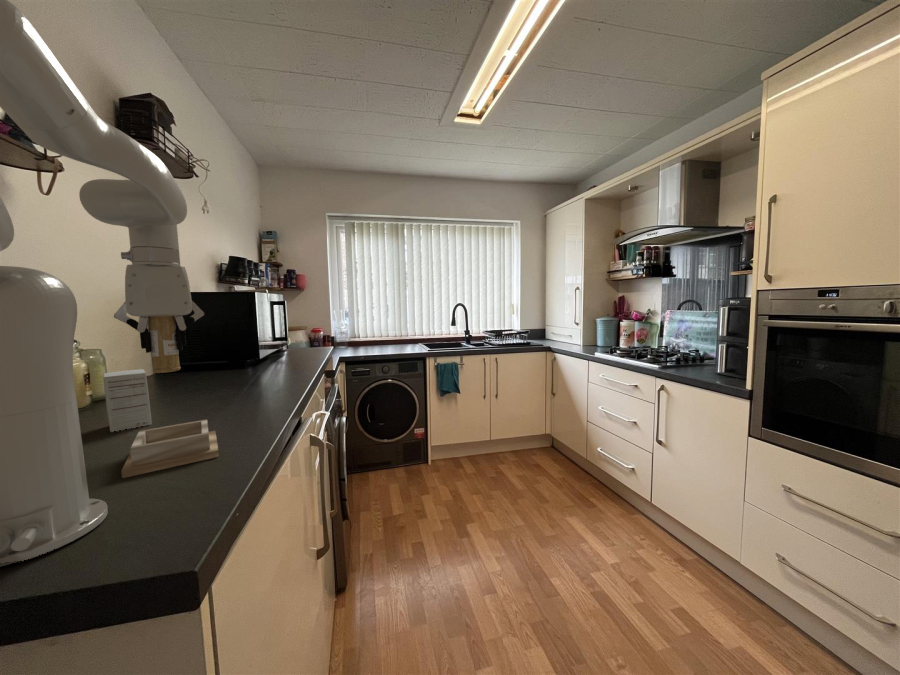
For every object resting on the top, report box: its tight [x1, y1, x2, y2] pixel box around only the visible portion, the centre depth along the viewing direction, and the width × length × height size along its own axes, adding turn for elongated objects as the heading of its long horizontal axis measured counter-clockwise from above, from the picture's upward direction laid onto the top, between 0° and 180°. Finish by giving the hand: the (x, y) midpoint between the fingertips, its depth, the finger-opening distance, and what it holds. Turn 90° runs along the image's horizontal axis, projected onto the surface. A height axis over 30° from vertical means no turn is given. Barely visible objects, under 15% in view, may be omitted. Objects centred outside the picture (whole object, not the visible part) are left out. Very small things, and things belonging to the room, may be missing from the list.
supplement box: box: [102, 368, 152, 433], centre depth 84 cm, size 7×7×13 cm
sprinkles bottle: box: [148, 316, 182, 374], centre depth 73 cm, size 5×5×14 cm
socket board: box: [121, 419, 220, 479], centre depth 66 cm, size 13×13×4 cm
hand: (165, 350), depth 73 cm, fingers closed on sprinkles bottle, 4 cm apart
